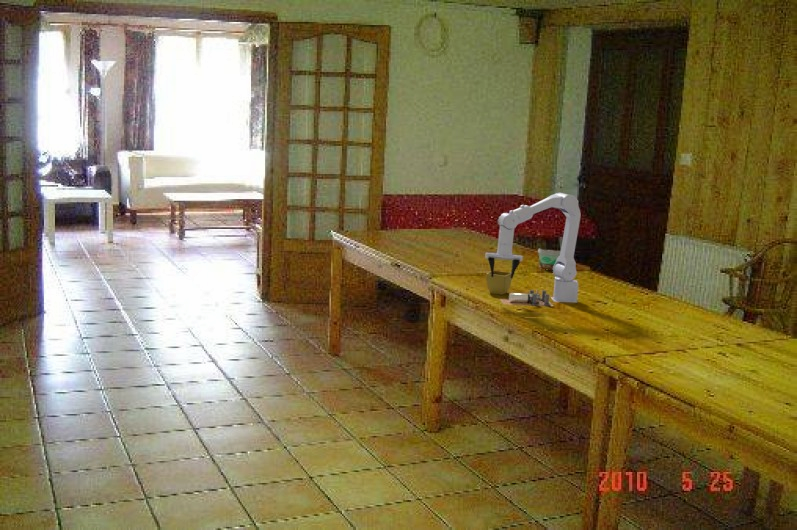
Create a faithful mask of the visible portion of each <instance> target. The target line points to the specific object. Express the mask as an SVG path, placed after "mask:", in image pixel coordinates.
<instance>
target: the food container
mask: <svg viewBox="0 0 797 530" xmlns="http://www.w3.org/2000/svg"><path fill="white" fill-rule="evenodd" d="M560 252H561V250H553V249H543V248H538V249H537V253H538V257H539V258H538V260H539V261H538V264H539V266H538V267H540V268H542V269H548V270H553V266H554V264H555V263H556V259H557V258H558V257H559V256H560ZM540 268H539V269H540ZM542 269H541V270H542Z"/></svg>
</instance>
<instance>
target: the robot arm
mask: <svg viewBox="0 0 797 530" xmlns="http://www.w3.org/2000/svg"><path fill="white" fill-rule="evenodd" d="M579 202H580V201H579V200H578V199H577V197H575V195H574V194H569V193H568V194H567V193H565V192H556V193H554V194H551V195H549V196H548V197H546V198H544V199H542V200H540V201H537V202H536V203H533V204H531V205H526V204H525V205H524V204H521V205H519V207H518V208H516V209H513V210H509V212H503V213H501V214H500V216H499V217H498V219H497V224H498V225H499V230H498V241H497V249H496V250H497V251H496V252H485V255H484V256H485V257H484V258H485V259H487V260H488V263H489V267H490V272H491V277H493V275H494V271H495V263H496V262H495V261H496V260H508V261H511V270H510V272H511V277H510V278H511V279H512V280H513V278H514V275H515V272H516V270H517V269H518V267H519V265H520V263H521V262H523V258H524V256H523V255H517V254H513V244H514V234H515V229H516V227H517V226H518V225H519V224H522V223H524V222H526V221H528V220H531V219H532V218H533V216H534V215H535V214H537V213H539V212H543V211H545V210H547V209H550V208H555V209H558V210H560V211H561V212H562V213H563V214H564V216H565V217H566V219H565V225H564V230H563V237H562V241H561V247H560V251H561V252H560V256H559V257H558V258H557V259H556V263H555V264H554V266H553V271H552V273H553V275H554V285H553V296H551V297H550V298H551V300H552V301H553V302H555V303H556V302H557V303H574V304H575V303H578V299H579V298H578V295H579V282H578V280H577V279H576V280H575V278H576V276H577V268H576V265H577V263H576V260H575V258H574V257H575V251H576V250H575V249H576V245H577V238H578V233H579V228H580V222H581V215H582V214H581V210H580V207H579ZM495 259H496V260H495Z"/></svg>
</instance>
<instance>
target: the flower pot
mask: <svg viewBox="0 0 797 530" xmlns="http://www.w3.org/2000/svg"><path fill="white" fill-rule="evenodd" d="M485 276H486V277H485V278H486V285H487V290H488V292H489V293H490V294H494V295H502V296H503V295H504V294H507V293H508V291H509V289H510V287H511V285H512V284H511V283H512V280H513V279H511V278H510V277H511V271H510V272H509V271H502V270H494V275H493V277H491V271H488V272H487V273H486V275H485Z"/></svg>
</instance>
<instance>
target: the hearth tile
mask: <svg viewBox="0 0 797 530" xmlns="http://www.w3.org/2000/svg"><path fill="white" fill-rule="evenodd" d="M499 300H500V301H501V304H502V305H507V306H508V305H509V306H533V305H531V303H519V302H509V298H499ZM537 304H538V306H539V307H545V306H544V302H542V301H540V303H537ZM539 304H541V305H542V306H540V305H539ZM549 304H550V305H551V306H550V307H554V305H553V303H552V302H550V300H549ZM533 307H534V306H533Z"/></svg>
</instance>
